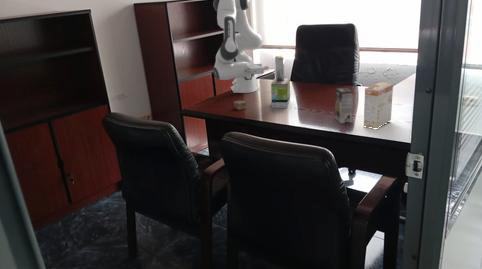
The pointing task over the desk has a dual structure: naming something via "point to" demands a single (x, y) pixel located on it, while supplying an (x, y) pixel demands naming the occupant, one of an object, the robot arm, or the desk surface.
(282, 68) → the tin canister
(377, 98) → the coffeecake box
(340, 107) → the coffee box
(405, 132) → the desk surface
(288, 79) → the tea box
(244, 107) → the walnut coaster block
